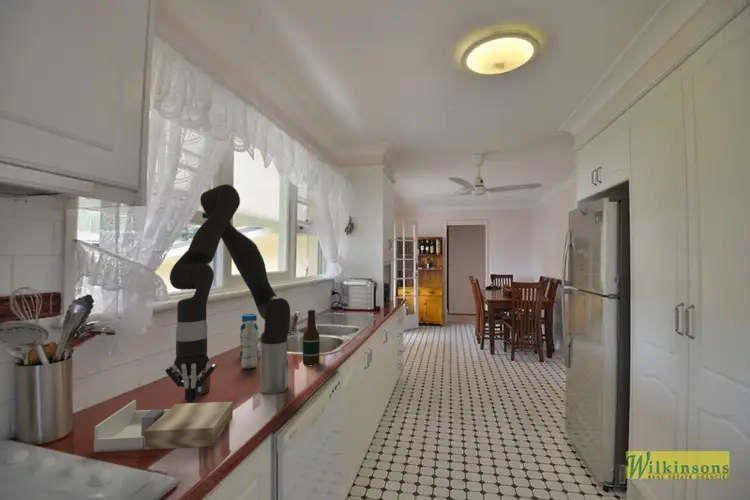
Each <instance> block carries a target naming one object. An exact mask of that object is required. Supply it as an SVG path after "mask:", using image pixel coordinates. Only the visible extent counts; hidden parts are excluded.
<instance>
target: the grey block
mask: <svg viewBox="0 0 750 500" xmlns="http://www.w3.org/2000/svg"><path fill="white" fill-rule="evenodd" d="M150 410H151V411H150V412H148V413H147V414H146V415H145V416H143V417H142V428H141V436H144V437H145V431H146V430H147V429H148V428H149V427H150V426H151V425H152V424H154V423H155V422H156V421H157V420H158V419H159V418H160V417H161V416H163V415H164V408H155V409H150Z"/></svg>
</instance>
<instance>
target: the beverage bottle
mask: <svg viewBox="0 0 750 500" xmlns="http://www.w3.org/2000/svg"><path fill="white" fill-rule="evenodd" d="M257 318H258V317H257V314H255V313H245V314H242V315H241V322H242V324H241V326H240V327H239V328H240V329H239V331H240V333H239V339H240V340H239V343H240V344H239V346H240V347H239V357H240V358H241V359H242V354H243V342H242V332H243V330H244V329H245V328H246V326H245V322H246V321H254V324H255V325H254V328H255V329H256V331H257V341H256V356H257V357H258V354H259V353H258V343H259V342H258V341H259V337H258V336H259V331H258V330H259V326H258V324H257V323H256V322H257V320H258V319H257Z"/></svg>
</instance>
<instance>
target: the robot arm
mask: <svg viewBox="0 0 750 500" xmlns="http://www.w3.org/2000/svg"><path fill="white" fill-rule="evenodd" d="M200 195H201V196H200V198H199V199H200V200H199V201H200V204H201V208H202V209H203V211H204V213H205V214H206V216H207V219H206V220H205V221H204V222H203V223H202V224H201V225H200V227H199V228H198V229H197V230H196V232H195V234H194V235H193V237H192V240H191V242H190V244H189V247H188V249H187V250H186V251H185V252H184V253H183V254H182V256H180V258H179V259H178V260H177V261H176V263H175V264H173V266H172V268H171V270H170V272H169V273H170V274H169V282H170V285H171V286H172V287H173V288H174V289H175V290H176V289H177V290H195V292H194V294H193V295H192V296H190V297H186V298H182V299H180V300H179V301H178V302H177V309H176V310H177V311H176V312H177V313H176V314H177V315H176V316H177V319H176V329H175V359H174V361H173V364H172V365H171V366H169V367H167V368H166V369H165V373H166V374H167V376H168V377H169V378H170V379H171V380H172V381H173V382H174V384H175V385H176V387H178V388H180V387H182V388H184V400H185V401H186V403H195V401H196V400H197V398H198V397H199V395H198V386H201V385H202V384H203V383H204V382H205V381H206V380H207V379H208V378H209V376H210V377H211V375H212V374H213V373H214V371H215V370H216V369H217V367H218V365H217V364H216V363H214V364H213V363H212V362H211V361H210V358H209V357H208V322H207V307H208V306H207V304H208V300H209V296H210V291H211V289H212V286H213V283H214V279H215V274H214V270H213V268H212V267H211V266H210V263H211V262H213V261H214V258H215V255H216V253H217V250H218V247H219V244H220V241H221V240H222V241H223V242H222V243H223V244H224V246H225V247H226V249H227V251H228V253H229V255H230V257H231V259H232V262H233V263H234V265H235V267H236V269H237V271H238V273H239V274H240V276H241V278H242V280H243V281H244V283H245V285H246V287H248V289H249V291H250V293H251V295H252V296H251V297H252V298H253V301H254V303H255V306H256V309H257V312H258V314H259V315H260V317H261V318H262V319H263V320H264V330H263V332H262V333H261V335H260V360H259V361H260V367H259V368H260V371H259V372H260V373H259V374H260V375H259V379H260V380H259V391H260V392H261V393H262V394H267V395H272V394H275V395H276V394H279V393H285V392H286V391H287V388H288V386H289V385H288V382H289V378H288V377H289V360H288V337H289V334H290V328H291V325H290V324H291V306H290V304H289V301H288V300H286V299H285V298H283V297H279V296H277V294H276V292H275V291H274V289H273V288H272V286H271V284H270V282H269V279H268V274H267V268H266V264H265V261H264V258H263V256H262V254H261V251H260V250H259V248H258V246H257V244H256V243H255V242H254V241H253V240H252V239H251V238H249V236H246V234H244V233H242V231H240V230H238V229H237V228H236V227H235V226H234V225H233V224H232V222H231V220H232V219H233V217H234V215H235V214H236V212H237V211H238V209H239V206H240V203H241V197H240V194H239V192H238V190H237V189H236V188H235V187H234V186H232V185H230V184H227V183H225V184H221V185H218V186H215V187H214V188H210V189H208V190H207V191H204V192H202V194H200ZM205 366H206V371H207V372H206V373H205V374H204V376H203V377H202V378H201V379H200V380H199V377H200V372H201V371H202V370H203V369H204V367H205ZM181 374H182V375H181Z"/></svg>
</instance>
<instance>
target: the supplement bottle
mask: <svg viewBox="0 0 750 500" xmlns="http://www.w3.org/2000/svg"><path fill="white" fill-rule="evenodd" d="M206 372H207V371H206V366H205V367H204V369H203V370H202V371H201V372H200V377H199V380H200V379H201V378H202V377H203V376H204V374H205V373H206ZM210 390H211V375H210V376H209V378H208V379H207V380H206V381H205V382H204V383H203V384H202V385H201V386H198V396H200V395H203V394H204V395H205V394H207V393H208V392H210Z"/></svg>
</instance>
